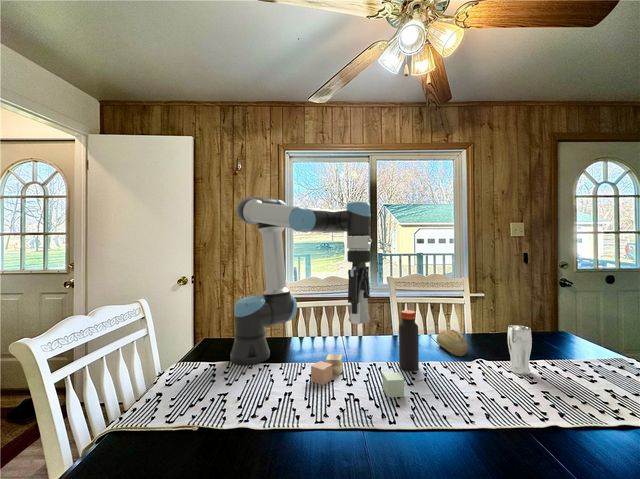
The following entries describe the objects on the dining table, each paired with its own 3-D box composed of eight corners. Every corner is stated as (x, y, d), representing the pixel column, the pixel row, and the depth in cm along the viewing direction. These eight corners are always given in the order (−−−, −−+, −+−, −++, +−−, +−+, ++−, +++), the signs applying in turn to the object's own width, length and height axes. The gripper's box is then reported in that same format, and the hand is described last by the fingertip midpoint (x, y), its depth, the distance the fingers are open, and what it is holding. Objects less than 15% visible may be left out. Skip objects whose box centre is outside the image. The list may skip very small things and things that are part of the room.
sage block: (387, 397, 88) (387, 380, 88) (382, 389, 93) (382, 372, 93) (404, 396, 88) (404, 379, 88) (398, 388, 93) (398, 372, 93)
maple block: (326, 373, 104) (326, 359, 104) (328, 367, 109) (328, 353, 109) (340, 374, 103) (340, 360, 103) (342, 368, 108) (342, 354, 108)
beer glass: (528, 368, 106) (527, 325, 106) (535, 376, 99) (534, 331, 99) (505, 365, 108) (505, 324, 108) (510, 374, 102) (510, 329, 101)
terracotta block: (311, 381, 98) (311, 366, 98) (320, 375, 102) (320, 360, 102) (323, 385, 95) (323, 369, 95) (332, 379, 99) (332, 364, 99)
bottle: (401, 362, 112) (400, 308, 112) (420, 365, 109) (419, 310, 109) (397, 369, 106) (396, 312, 106) (417, 372, 103) (416, 314, 103)
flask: (370, 325, 93) (370, 292, 93) (347, 323, 94) (346, 292, 94) (371, 318, 100) (370, 288, 100) (349, 317, 101) (349, 288, 101)
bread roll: (450, 343, 132) (450, 325, 132) (474, 356, 117) (474, 336, 117) (430, 345, 130) (430, 327, 130) (453, 358, 115) (452, 338, 115)
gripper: (359, 251, 86) (360, 330, 87) (378, 248, 104) (379, 314, 104) (335, 250, 90) (336, 327, 90) (358, 248, 108) (358, 312, 108)
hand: (359, 320), depth 97 cm, fingers closed on flask, 7 cm apart
